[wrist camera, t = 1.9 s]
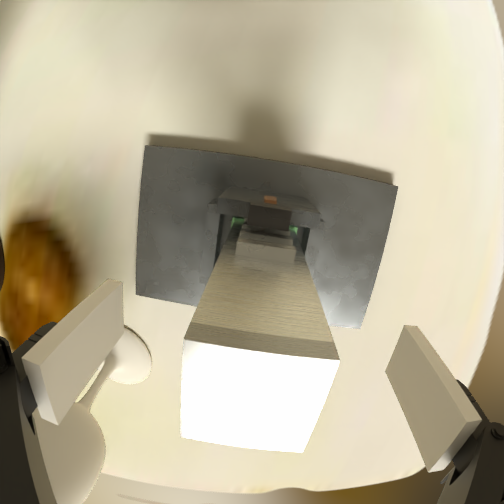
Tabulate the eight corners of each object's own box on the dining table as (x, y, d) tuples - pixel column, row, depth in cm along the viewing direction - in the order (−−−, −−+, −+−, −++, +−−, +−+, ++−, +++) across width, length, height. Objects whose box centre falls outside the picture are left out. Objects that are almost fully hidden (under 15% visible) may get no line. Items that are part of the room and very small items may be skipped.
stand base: (140, 289, 31) (97, 341, 21) (149, 145, 26) (97, 144, 17) (357, 323, 31) (385, 383, 22) (393, 184, 27) (447, 202, 17)
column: (228, 265, 28) (175, 438, 10) (236, 204, 27) (177, 317, 8) (283, 273, 28) (306, 455, 10) (295, 213, 27) (353, 341, 8)
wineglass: (156, 337, 32) (72, 503, 12) (148, 392, 35) (88, 537, 15) (86, 311, 32) (-30, 440, 12) (85, 367, 34) (2, 491, 14)
